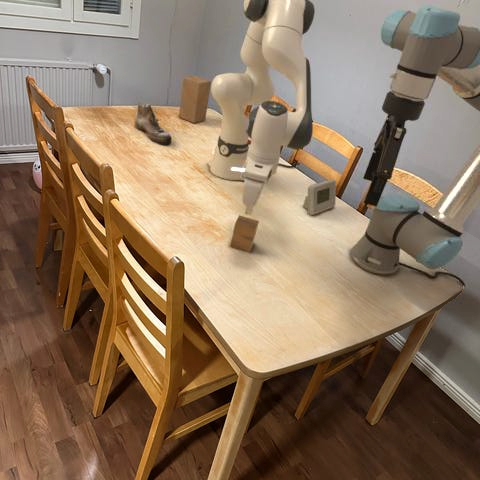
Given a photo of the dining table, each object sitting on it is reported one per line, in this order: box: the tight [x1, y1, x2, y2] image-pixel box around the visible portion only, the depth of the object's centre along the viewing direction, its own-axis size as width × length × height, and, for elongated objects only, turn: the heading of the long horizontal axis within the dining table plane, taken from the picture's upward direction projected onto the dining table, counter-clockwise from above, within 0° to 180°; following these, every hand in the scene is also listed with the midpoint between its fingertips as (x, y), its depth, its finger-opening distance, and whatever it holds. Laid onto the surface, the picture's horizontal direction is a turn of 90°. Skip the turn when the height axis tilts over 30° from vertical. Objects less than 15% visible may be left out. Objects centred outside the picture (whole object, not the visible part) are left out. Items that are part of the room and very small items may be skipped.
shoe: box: [134, 102, 172, 145], centre depth 194 cm, size 25×11×12 cm, turn 30°
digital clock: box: [302, 178, 337, 216], centre depth 164 cm, size 16×9×11 cm, turn 123°
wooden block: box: [178, 75, 212, 124], centre depth 221 cm, size 10×10×20 cm
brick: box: [230, 214, 260, 253], centre depth 134 cm, size 5×6×9 cm
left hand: (251, 206), depth 128 cm, fingers open, 8 cm apart
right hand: (369, 191), depth 98 cm, fingers open, 13 cm apart
